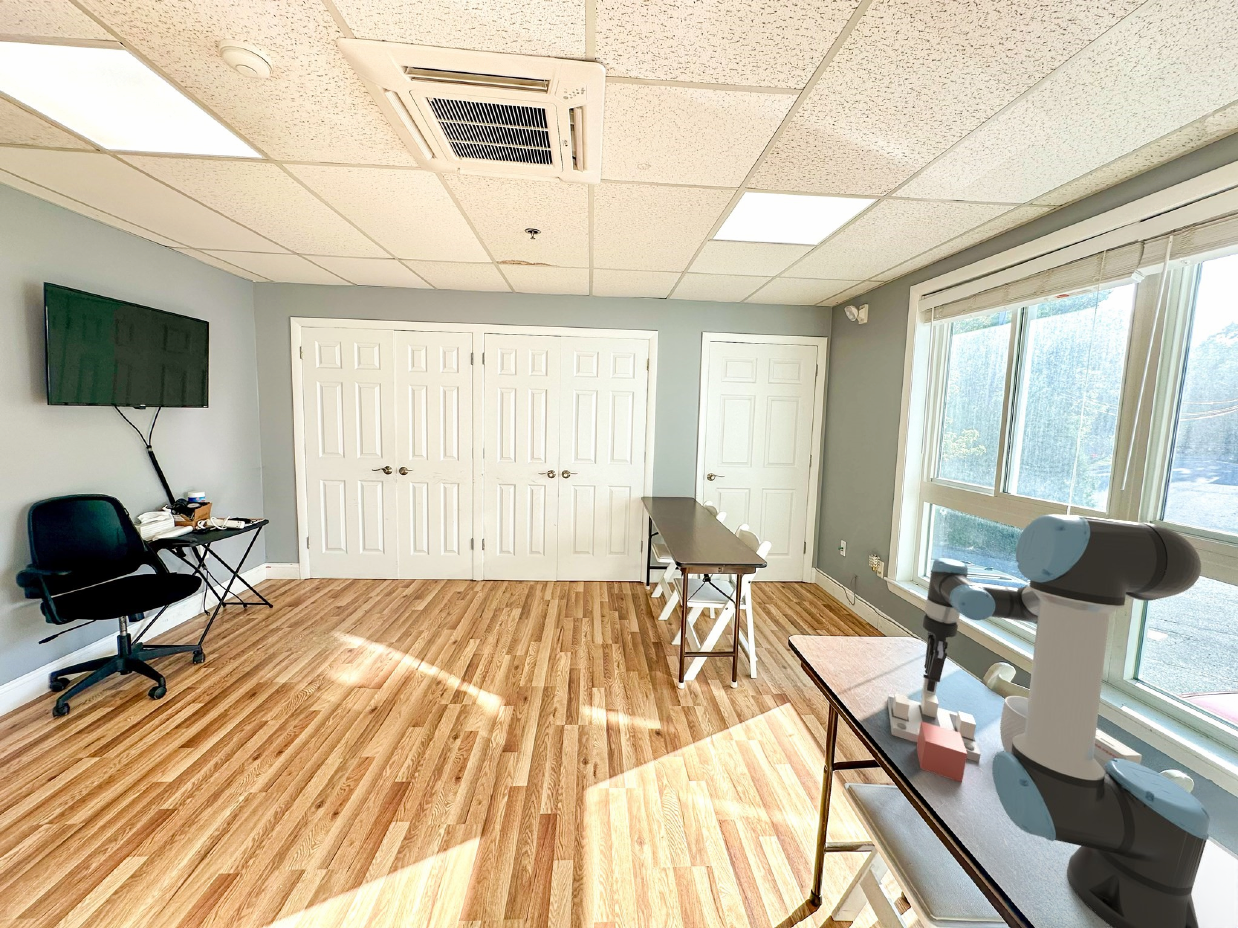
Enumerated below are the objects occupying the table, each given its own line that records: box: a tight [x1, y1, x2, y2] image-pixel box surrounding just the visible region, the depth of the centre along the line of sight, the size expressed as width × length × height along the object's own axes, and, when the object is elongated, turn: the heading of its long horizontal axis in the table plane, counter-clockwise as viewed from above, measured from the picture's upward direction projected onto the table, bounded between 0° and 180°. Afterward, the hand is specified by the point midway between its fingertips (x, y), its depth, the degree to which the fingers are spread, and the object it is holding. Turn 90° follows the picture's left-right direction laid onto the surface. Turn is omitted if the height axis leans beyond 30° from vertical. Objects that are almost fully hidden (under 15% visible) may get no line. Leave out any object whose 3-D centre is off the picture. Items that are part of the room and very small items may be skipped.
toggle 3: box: [955, 710, 977, 739], centre depth 119 cm, size 4×3×4 cm
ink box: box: [1093, 728, 1143, 770], centre depth 105 cm, size 9×5×12 cm, turn 9°
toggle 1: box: [893, 693, 910, 720], centre depth 125 cm, size 4×3×4 cm
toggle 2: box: [920, 692, 939, 718], centre depth 126 cm, size 4×3×4 cm
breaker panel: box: [887, 693, 982, 763], centre depth 123 cm, size 16×18×2 cm
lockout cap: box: [916, 721, 968, 783], centre depth 110 cm, size 8×8×7 cm
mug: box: [999, 695, 1029, 753], centre depth 111 cm, size 15×11×13 cm
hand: (927, 699), depth 129 cm, fingers closed
